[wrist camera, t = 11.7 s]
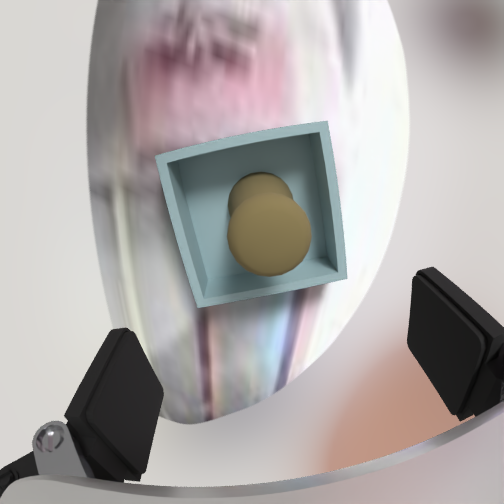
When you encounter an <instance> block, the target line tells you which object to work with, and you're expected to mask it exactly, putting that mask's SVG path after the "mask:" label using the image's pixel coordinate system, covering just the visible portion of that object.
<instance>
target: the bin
mask: <svg viewBox="0 0 504 504" xmlns="http://www.w3.org/2000/svg"><path fill="white" fill-rule="evenodd" d="M155 159H156V163H157V167H158V171H159V176H160V180H161V184H162V188H163V191H164V195H165V199H166V203H167V207H168V211H169V214H170V218H171V222H172V225H173V229H174V232H175V236H176V239H177V243H178V246H179V250H180V253H181V256H182V260H183V263H184V266H185V270H186V273H187V276H188V279H189V283H190V286H191V289H192V292H193V295H194V298H195V301H196V304H197V308H201V307H207V306H213V305H218V304H224V303H230V302H235V301H241V300H246V299H252V298H257V297H262V296H267V295H272V294H277V293H282V292H287V291H292V290H297V289H302V288H307V287H312V286H316V285H321V284H326V283H330V282H335V281H339V280H344V279H347V266H346V254H345V242H344V232H343V222H342V213H341V205H340V197H339V189H338V182H337V175H336V168H335V162H334V155H333V149H332V143H331V137H330V132H329V126H328V121H322V122H314V123H307V124H300V125H293V126H286V127H280V128H274V129H268V130H263V131H257V132H252V133H247V134H242V135H237V136H232V137H227V138H223V139H218V140H214V141H210V142H205V143H201V144H197V145H193V146H189V147H185V148H181V149H178V150H174V151H170V152H167V153H163V154H160V155H156V156H155ZM255 172H267V173H272V174H274V175H276V176H278V177H280V178H281V179H282V180H283V181H284V182H285V183H286V184H287V185H288V187H289V189H290V191H291V193H292V195H293V200H294V201H295V202H296V203H297V204H298V205H299V206H300V207H301V208H302V209H303V210H304V211H305V213H306V215H307V217H308V219H309V222H310V225H311V235H312V238H311V243H310V247H309V251H308V253H307V254H306V256H305V258H304V259H303V261H302V262H301V263H300V264H299V265H298V266H297V267H296V268H294V269H293V270H291V271H289V272H287V273H285V274H283V275H278V276H272V277H266V276H259V275H256V274H253V273H251V272H249V271H247V270H245V269H244V268H243V267H242V266H241V265H240V264H239V263H237V261H236V260H235V258H234V256H233V255H232V253H231V251H230V249H229V245H228V240H227V232H228V225H229V221H230V219H231V218H230V215H229V210H228V198H229V194H230V192H231V190H232V188H233V186H234V185H235V184H236V183H237V182H238V181H239V180H240V179H241V178H242V177H244V176H246V175H248V174H250V173H255Z"/></svg>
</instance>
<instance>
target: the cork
mask: <svg viewBox="0 0 504 504" xmlns="http://www.w3.org/2000/svg"><path fill="white" fill-rule="evenodd" d="M228 210H229V215H230V218H231V219H230V221H229V225H228V232H227V240H228V245H229V249H230V251H231V253H232V255H233V256H234V258H235V260H236V261H237V263H239V264H240V265H241V266H242V267H243V268H244V269H245V270H247V271H249V272H251V273H253V274H256V275H259V276H266V277H272V276H278V275H283V274H285V273H287V272H289V271H291V270H293V269H294V268H296V267H297V266H298V265H299V264H300V263H301V262H302V261H303V259H304V258H305V256H306V254H307V253H308V251H309V247H310V243H311V238H312V235H311V225H310V222H309V219H308V217H307V215H306V213H305V211H304V210H303V209H302V208H301V207H300V206H299V205H298V204H297V203H296V202H295V201H294V200H293V195H292V193H291V191H290V189H289V187H288V185H287V184H286V183H285V182H284V181H283V180H282V179H281V178H280V177H278V176H276V175H274V174H272V173H267V172H255V173H250V174H248V175H246V176H244V177H242V178H241V179H240V180H239V181H238V182H237V183H236V184H235V185H234V186H233V188H232V190H231V192H230V194H229V198H228Z"/></svg>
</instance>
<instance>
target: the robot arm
mask: <svg viewBox="0 0 504 504" xmlns="http://www.w3.org/2000/svg"><path fill="white" fill-rule="evenodd" d="M407 344H408V347H409V349H410V351H411V352H412V354H413V355H414V357H415V358H416V360H417V361H418V363H419V364H420V366H421V367H422V369H423V370H424V372H425V373H426V375H427V376H428V378H429V379H430V381H431V383H432V384H433V386H434V387H435V389H436V390H437V392H438V393H439V395H440V397H441V398H442V400H443V401H444V403H445V405H446V406H447V408H448V410H449V411H450V412H451V414H452V415H456V416H457V417H458V419H459V421H462V420H464V419H466V418H468V417H470V416H472V415H473V414H474V415H475V417H474V418H473V419H471V420H469V421H467V422H465V423H463V424H461V425H459V426H456V427H454V428H452V429H450V430H448V431H446V432H444V433H442V434H440V435H437V436H436V437H433V438H431V439H428V440H426V441H424V442H421V443H419V444H416V445H414V446H412V447H409V448H407V449H404V450H401V451H398V452H396V453H392V454H390V455H387V456H384V457H381V458H378V459H375V460H371V461H368V462H365V463H361V464H358V465H354V466H350V467H347V468H343V469H339V470H335V471H331V472H326V473H322V474H317V475H313V476H307V477H301V478H296V479H290V480H283V481H277V482H269V483H260V484H250V485H238V486H221V487H171V486H154V485H141V484H131V483H124V479H125V480H130V481H140V479H141V475H142V474H143V473H145V472H146V468H147V464H148V459H149V454H150V450H151V446H152V442H153V437H154V433H155V429H156V425H157V420H158V416H159V412H160V408H161V404H162V400H163V396H164V392H163V388H162V385H161V384H160V382H159V380H158V378H157V376H156V374H155V372H154V371H153V369H152V367H151V365H150V363H149V361H148V359H147V357H146V355H145V353H144V351H143V349H142V347H141V345H140V343H139V341H138V338H137V336H136V334H135V333H134V332H133V331H130V330H129V329H128V328H119V329H112V330H111V331H110V332H109V334H108V336H107V337H106V339H105V341H104V342H103V344H102V346H101V348H100V349H99V351H98V353H97V355H96V357H95V358H94V360H93V362H92V363H91V366H90V367H89V369H88V371H87V372H86V374H85V376H84V379H83V380H82V382H81V384H80V385H79V387H78V389H77V391H76V393H75V395H74V397H73V399H72V401H71V403H70V405H69V407H68V409H67V411H66V413H65V415H64V416H65V418H66V419H67V420H68V422H67V424H64V423H63V422H60V421H51V422H48V423H46V424H45V425H43V426H41V427H40V429H38V430H37V432H36V433H35V435H34V438H33V441H32V445H33V451H32V452H30V453H29V454H27V455H25V456H23V457H21V458H20V459H18V460H16V461H14V462H12V463H10V464H8V465H7V466H5V467H3V468H2V469H1V470H0V504H504V327H503V326H502V325H500V324H499V323H498V322H497V321H496V320H495V319H494V318H493V317H492V316H491V315H490V314H489V313H487V312H486V311H485V310H484V309H483V308H482V307H481V306H480V305H479V304H477V303H476V302H475V301H474V300H473V299H472V298H471V297H469V296H468V295H467V294H466V293H465V292H464V291H462V290H461V289H460V288H459V287H458V286H457V285H455V284H454V283H453V282H451V281H450V280H449V279H448V278H447V277H446V276H444V275H443V274H442V273H441V272H439V271H438V270H437V269H436V268H434V267H429V268H426V269H422V270H419V271H417V273H416V276H414V277H413V279H412V294H411V307H410V318H409V328H408V337H407Z"/></svg>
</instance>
